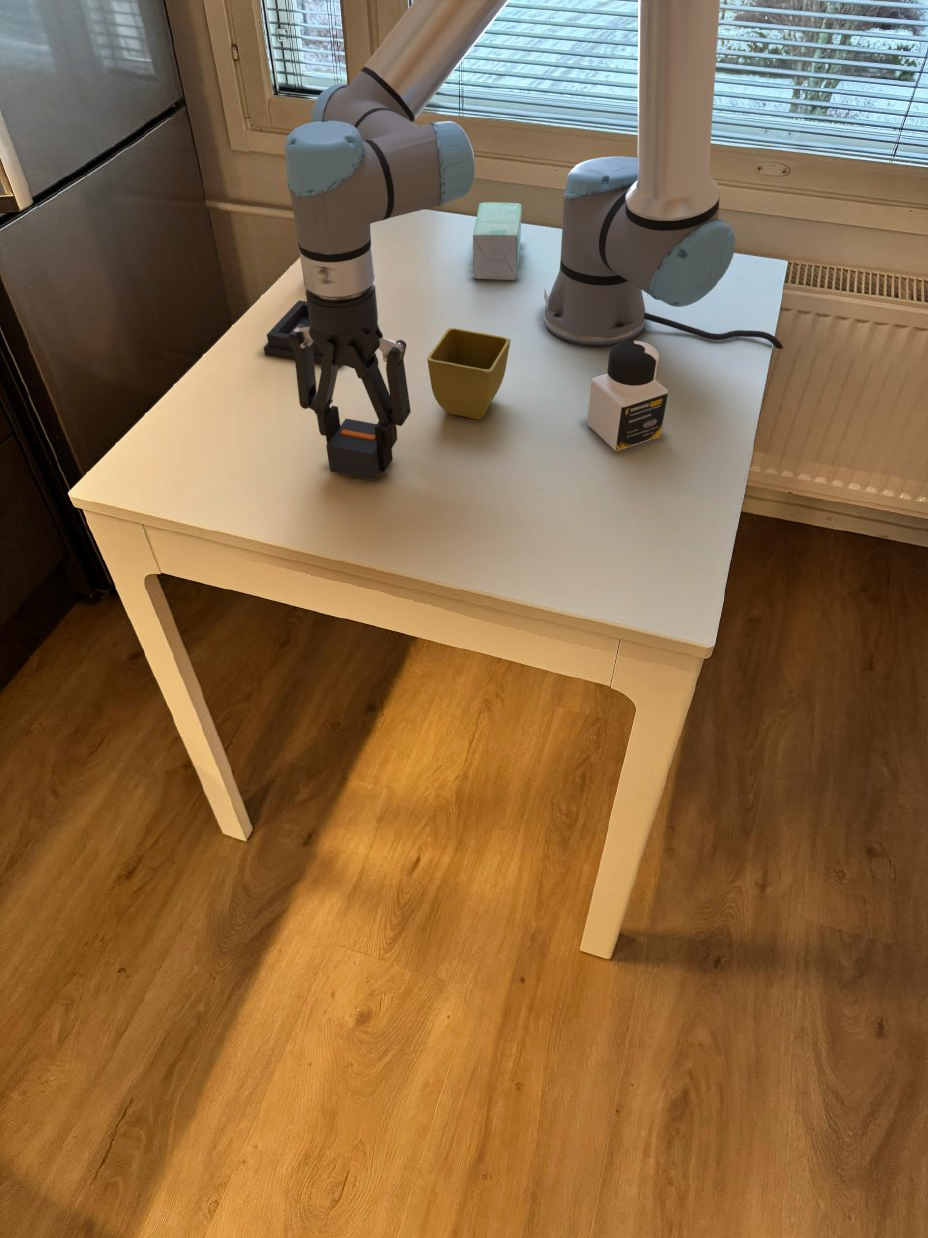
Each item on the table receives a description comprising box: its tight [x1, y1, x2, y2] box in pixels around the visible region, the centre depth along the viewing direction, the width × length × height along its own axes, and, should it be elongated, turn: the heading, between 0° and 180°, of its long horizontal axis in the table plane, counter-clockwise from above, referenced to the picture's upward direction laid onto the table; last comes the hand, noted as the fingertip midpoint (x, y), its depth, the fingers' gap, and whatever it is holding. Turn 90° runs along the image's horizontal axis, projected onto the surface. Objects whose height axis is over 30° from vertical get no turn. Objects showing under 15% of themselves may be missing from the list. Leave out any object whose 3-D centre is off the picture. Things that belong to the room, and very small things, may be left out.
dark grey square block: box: [326, 418, 381, 481], centre depth 113 cm, size 6×6×4 cm
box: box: [472, 201, 523, 281], centre depth 151 cm, size 7×14×8 cm, turn 175°
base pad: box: [263, 299, 341, 368], centre depth 136 cm, size 12×12×3 cm
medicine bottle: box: [586, 340, 669, 452], centre depth 116 cm, size 7×7×12 cm
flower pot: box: [426, 327, 511, 420], centre depth 121 cm, size 9×9×9 cm
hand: (361, 460), depth 114 cm, fingers closed on dark grey square block, 6 cm apart
